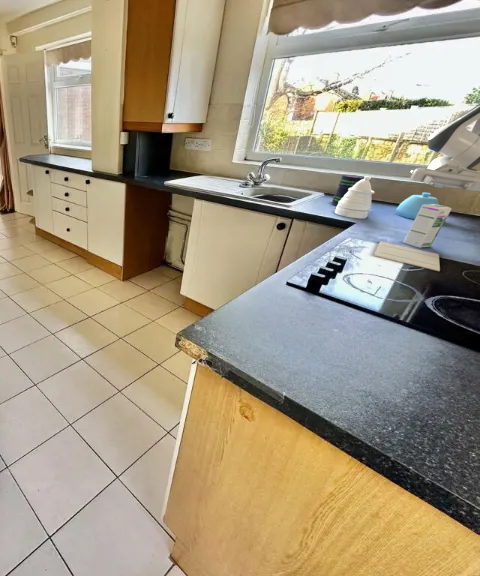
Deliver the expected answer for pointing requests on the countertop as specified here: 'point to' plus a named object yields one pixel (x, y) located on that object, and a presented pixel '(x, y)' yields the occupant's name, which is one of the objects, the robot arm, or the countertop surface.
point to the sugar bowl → (415, 205)
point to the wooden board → (408, 256)
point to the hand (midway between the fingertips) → (448, 184)
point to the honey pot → (356, 200)
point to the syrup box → (427, 225)
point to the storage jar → (345, 186)
